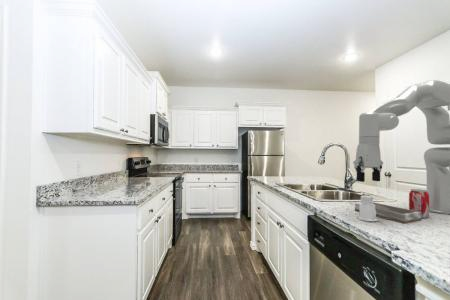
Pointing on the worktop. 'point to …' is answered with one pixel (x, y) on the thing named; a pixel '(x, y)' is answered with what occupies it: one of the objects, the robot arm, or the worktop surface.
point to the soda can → (419, 201)
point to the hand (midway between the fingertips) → (368, 181)
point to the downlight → (367, 209)
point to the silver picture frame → (394, 213)
